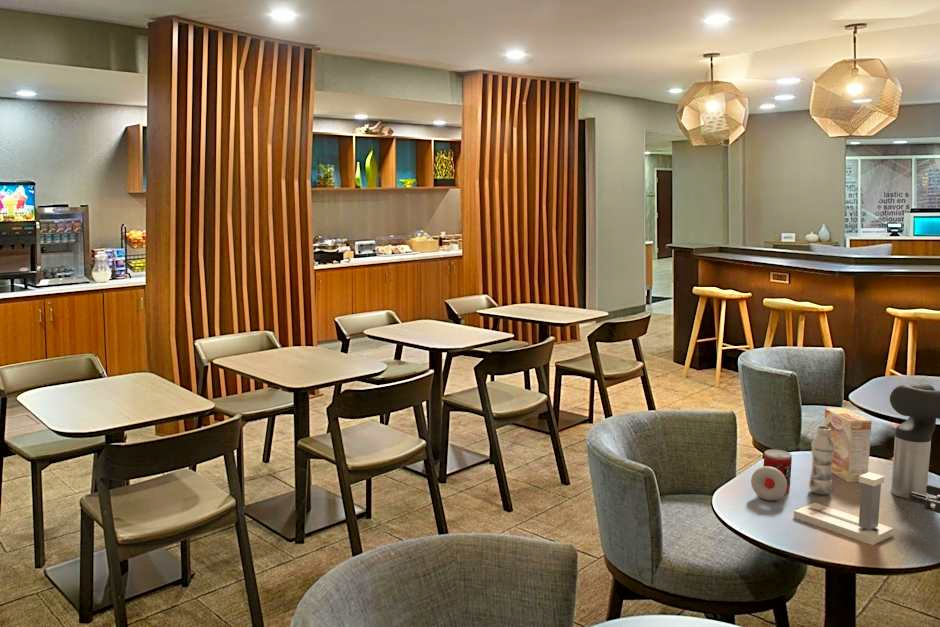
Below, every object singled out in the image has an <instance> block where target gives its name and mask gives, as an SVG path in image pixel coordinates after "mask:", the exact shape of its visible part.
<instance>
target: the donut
mask: <svg viewBox="0 0 940 627" xmlns="http://www.w3.org/2000/svg"><path fill="white" fill-rule="evenodd" d="M765 478H770V479H772V480H773V481H774V483H775V486H774V488H772V489H769V488H766V487H765V486H764V484H763V480H764V479H765ZM750 479H751V480H750V484H751V488H752V491H754V493H755V494H756V495H757V496H758V497H759V498H761V499H763V500H766V501H776V500H779V499H780V498H782V497H783V496H785V494H786V493H787V492H786V489H787V481H786V478H785V476H784V475H783V474H782V472H781V471H779V470H778V469H776V468H774V467H770V466H764V465H763V466H762V467H758V468H757V469H756V470H755V471H754V472H753V473H752V475H751V478H750Z"/></svg>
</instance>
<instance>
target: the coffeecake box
mask: <svg viewBox="0 0 940 627" xmlns="http://www.w3.org/2000/svg"><path fill="white" fill-rule="evenodd" d="M824 410H825V411H824V425H823V426H826V427H829V428H831V435H830V438H831V439H832V440H833V442H834V445H835V450H834V454H833V459H832V464H831V465H832V466H831V474H834V475H835V474H836V476H837V477H839V478H841V479H842V480H844V481H846V482H847V483H852V482H853V483H855V482H854V481H856V482H859V476H860V475H863V474H865V473H868V472H869V463H870V451H871V450H870V449H871V438H872V437H871V435H872V424H873V423H872V420H871V419H869V418H866V417H865V416H863V415H860V414H859V413H856V412H854V411H852V410H849V409H847V408H845V407H839V408H838V407H834V408H833V407H829V408H825V409H824Z"/></svg>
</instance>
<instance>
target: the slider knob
mask: <svg viewBox="0 0 940 627" xmlns="http://www.w3.org/2000/svg"><path fill="white" fill-rule="evenodd" d="M885 477H886V476H884V475H881V474H878V473H874V472H870V471H868V473H865V474H863V475H860V476H859V481H858V483H860V484H861V486H860V487H861V489H860V501H859V516H858V517H859V527H862V528H865V529H868V530H871V529H874V528H876V527H878V523H879V518H880V517H879V516H880V503H881V492H882V491H881V490H882V484H883V483H885Z"/></svg>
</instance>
